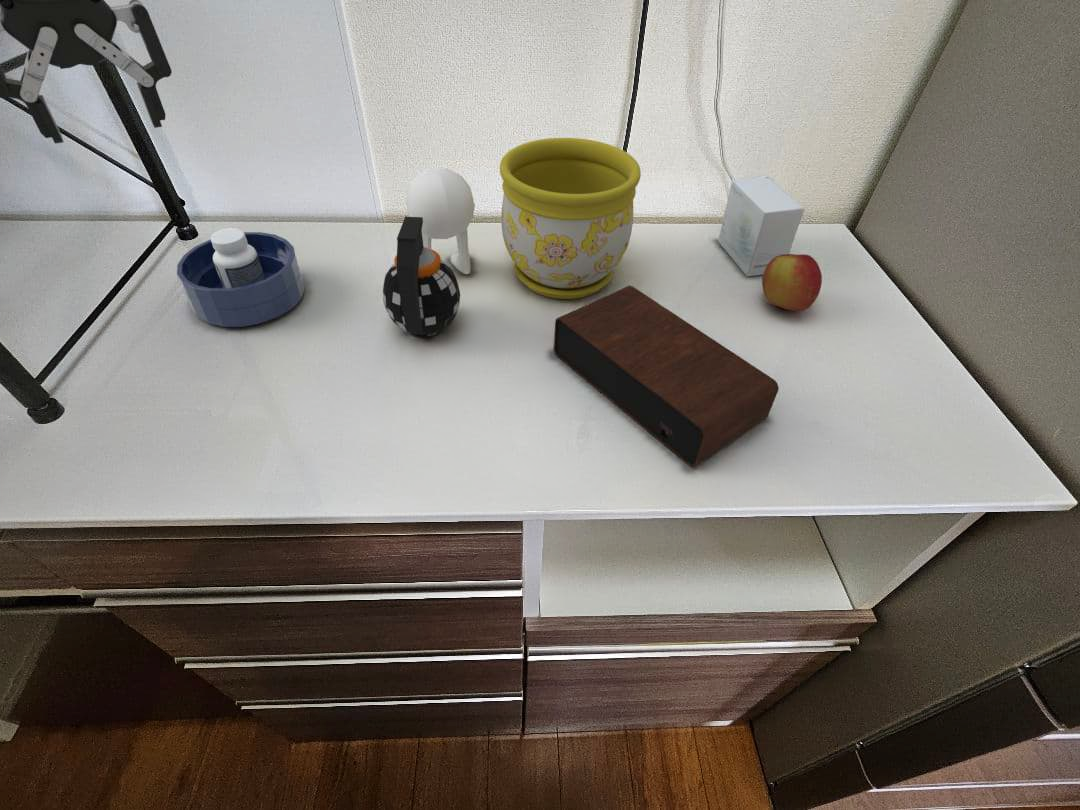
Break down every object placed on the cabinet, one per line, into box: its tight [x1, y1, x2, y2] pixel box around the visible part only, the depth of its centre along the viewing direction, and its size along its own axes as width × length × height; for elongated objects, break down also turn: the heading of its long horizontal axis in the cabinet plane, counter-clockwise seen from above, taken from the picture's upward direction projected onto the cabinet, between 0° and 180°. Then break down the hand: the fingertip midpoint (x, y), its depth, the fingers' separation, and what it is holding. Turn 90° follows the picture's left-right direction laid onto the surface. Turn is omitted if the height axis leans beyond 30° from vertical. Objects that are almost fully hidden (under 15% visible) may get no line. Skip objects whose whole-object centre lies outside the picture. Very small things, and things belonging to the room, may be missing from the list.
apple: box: [761, 253, 823, 313], centre depth 84 cm, size 8×8×8 cm
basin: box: [176, 231, 305, 328], centre depth 83 cm, size 14×14×6 cm
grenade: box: [382, 216, 461, 339], centre depth 75 cm, size 11×10×15 cm
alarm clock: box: [553, 285, 780, 468], centre depth 72 cm, size 24×12×6 cm, turn 38°
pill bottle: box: [210, 227, 265, 288], centre depth 81 cm, size 5×5×9 cm
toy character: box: [405, 167, 476, 275], centre depth 86 cm, size 9×9×15 cm
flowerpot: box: [499, 137, 642, 300], centre depth 85 cm, size 18×18×16 cm
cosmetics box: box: [717, 174, 805, 277], centre depth 92 cm, size 10×6×10 cm, turn 13°
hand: (109, 132), depth 61 cm, fingers open, 8 cm apart
